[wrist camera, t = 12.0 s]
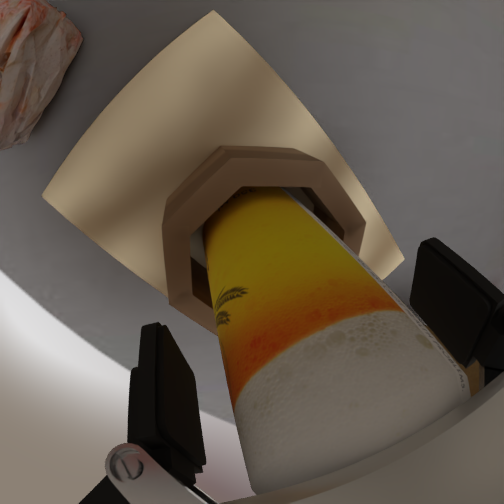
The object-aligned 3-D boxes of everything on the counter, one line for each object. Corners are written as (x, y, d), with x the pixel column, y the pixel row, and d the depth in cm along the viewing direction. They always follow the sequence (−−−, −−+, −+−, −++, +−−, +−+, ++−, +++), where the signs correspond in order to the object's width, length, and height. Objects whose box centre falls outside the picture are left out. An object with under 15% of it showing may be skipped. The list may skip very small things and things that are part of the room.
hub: (49, 190, 15) (9, 222, 10) (211, 16, 12) (222, -18, 8) (272, 356, 25) (289, 402, 21) (396, 252, 23) (434, 286, 18)
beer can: (180, 236, 17) (204, 534, 4) (252, 157, 16) (488, 384, 3) (253, 288, 20) (343, 515, 7) (319, 222, 18) (493, 418, 5)
